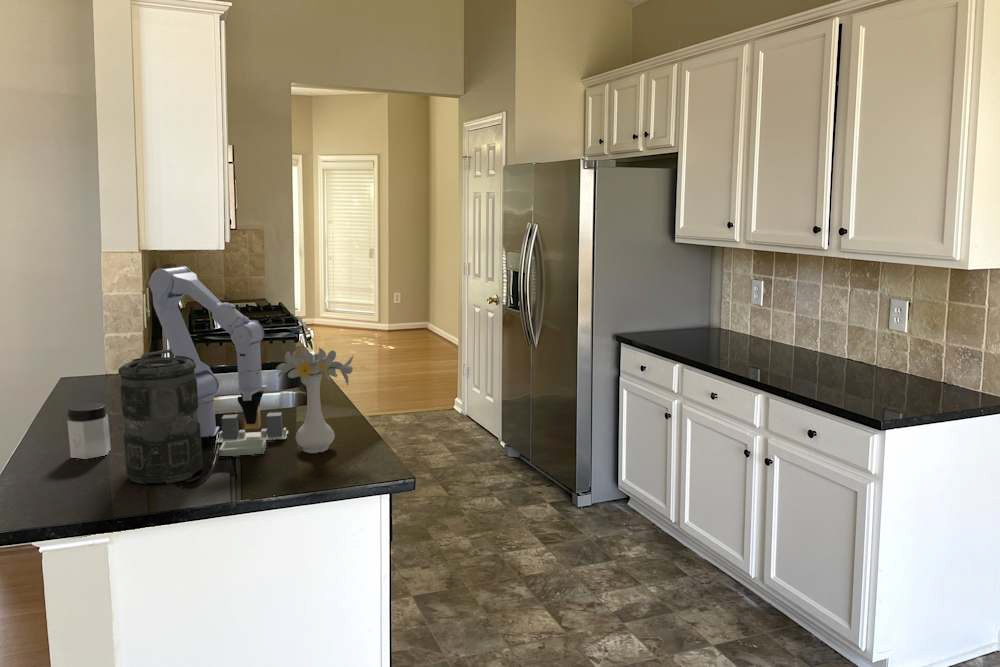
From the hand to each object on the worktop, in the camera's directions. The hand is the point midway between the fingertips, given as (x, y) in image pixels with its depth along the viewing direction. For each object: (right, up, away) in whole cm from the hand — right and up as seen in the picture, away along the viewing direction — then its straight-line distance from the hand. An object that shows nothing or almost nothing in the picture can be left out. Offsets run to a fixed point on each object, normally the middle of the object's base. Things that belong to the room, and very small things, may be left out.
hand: (252, 421), depth 209 cm
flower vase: (+19, -6, -8) cm, 21 cm away
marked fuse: (0, -1, 0) cm, 2 cm away
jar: (-35, -7, -12) cm, 38 cm away
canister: (-11, -9, -26) cm, 30 cm away
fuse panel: (0, -4, +1) cm, 5 cm away
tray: (+1, -6, -10) cm, 12 cm away
